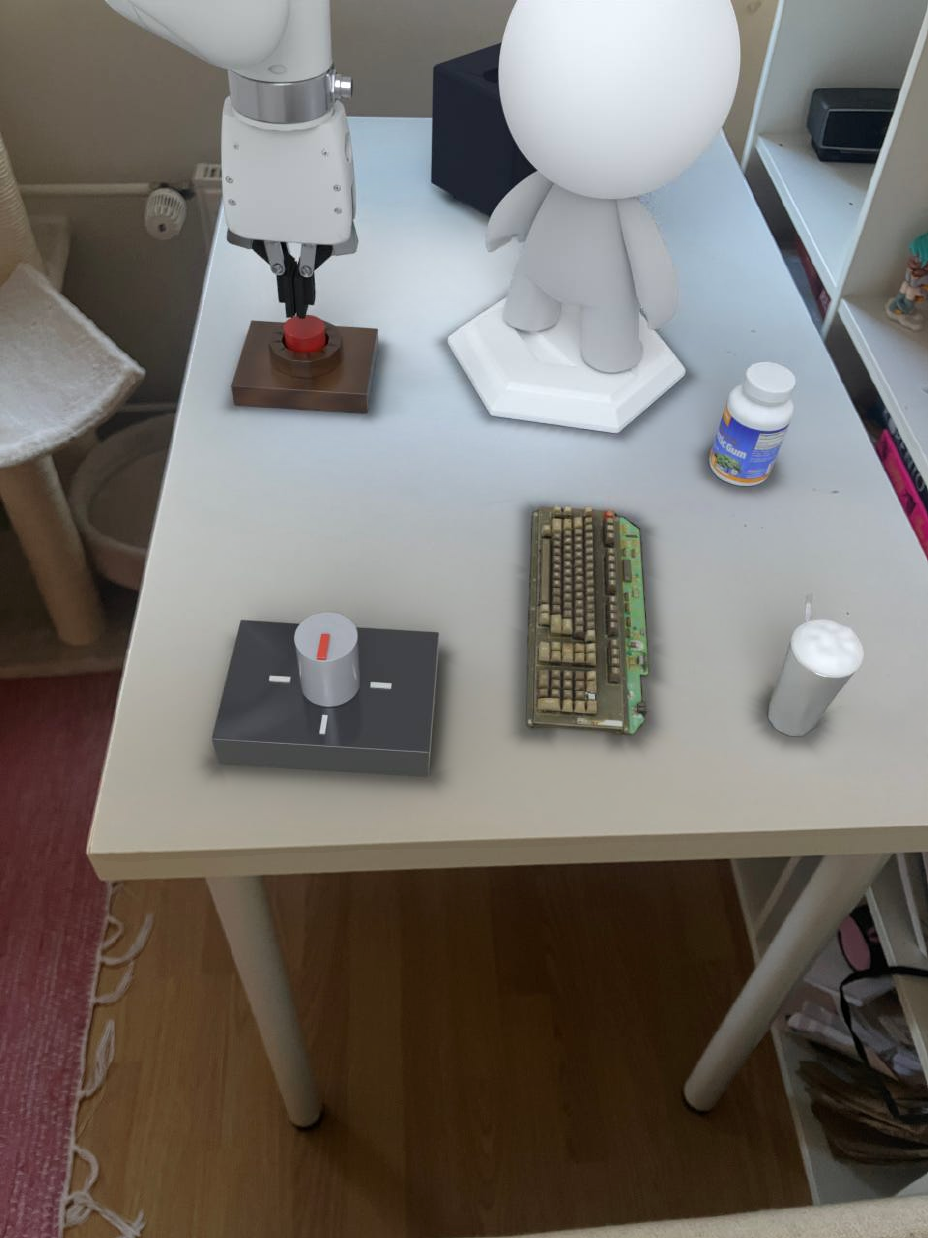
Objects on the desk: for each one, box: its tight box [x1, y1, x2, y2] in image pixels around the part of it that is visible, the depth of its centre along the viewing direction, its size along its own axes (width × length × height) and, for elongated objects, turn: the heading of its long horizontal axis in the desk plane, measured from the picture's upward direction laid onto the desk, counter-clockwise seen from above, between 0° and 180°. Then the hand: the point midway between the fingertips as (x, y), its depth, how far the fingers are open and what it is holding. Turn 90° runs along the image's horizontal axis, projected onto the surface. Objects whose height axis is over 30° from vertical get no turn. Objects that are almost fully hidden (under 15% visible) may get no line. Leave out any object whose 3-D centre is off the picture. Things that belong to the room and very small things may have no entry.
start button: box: [284, 314, 326, 353], centre depth 90 cm, size 4×4×2 cm
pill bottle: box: [708, 361, 797, 487], centre depth 84 cm, size 5×5×10 cm
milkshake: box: [767, 593, 865, 737], centre depth 67 cm, size 5×5×10 cm
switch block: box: [230, 319, 379, 414], centre depth 92 cm, size 12×10×4 cm
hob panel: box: [211, 619, 440, 777], centre depth 68 cm, size 14×10×3 cm
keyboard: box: [526, 504, 650, 735], centre depth 75 cm, size 22×9×2 cm, turn 176°
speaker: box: [430, 41, 538, 218], centre depth 112 cm, size 22×13×15 cm, turn 133°
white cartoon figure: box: [447, 0, 741, 434], centre depth 83 cm, size 20×23×35 cm
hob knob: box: [294, 611, 360, 707], centre depth 65 cm, size 4×4×5 cm
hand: (298, 309), depth 87 cm, fingers closed
